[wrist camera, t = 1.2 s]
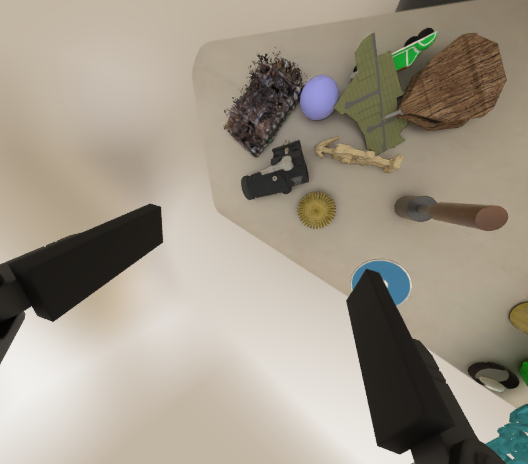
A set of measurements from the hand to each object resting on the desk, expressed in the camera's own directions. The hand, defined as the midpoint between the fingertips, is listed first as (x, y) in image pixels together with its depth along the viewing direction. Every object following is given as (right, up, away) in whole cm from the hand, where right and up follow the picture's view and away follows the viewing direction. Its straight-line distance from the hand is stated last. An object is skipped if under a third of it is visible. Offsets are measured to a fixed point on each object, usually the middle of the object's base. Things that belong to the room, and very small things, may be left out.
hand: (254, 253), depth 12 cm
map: (+19, +24, +22) cm, 38 cm away
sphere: (+14, +28, +23) cm, 39 cm away
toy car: (+21, +32, +20) cm, 44 cm away
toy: (+25, +14, +23) cm, 37 cm away
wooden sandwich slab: (+28, +24, +21) cm, 42 cm away
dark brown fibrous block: (0, +28, +31) cm, 41 cm away
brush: (+29, +6, +26) cm, 40 cm away
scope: (+1, +16, +25) cm, 30 cm away
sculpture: (+14, +10, +28) cm, 33 cm away
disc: (+28, -5, +29) cm, 40 cm away
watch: (+47, -27, +28) cm, 61 cm away
